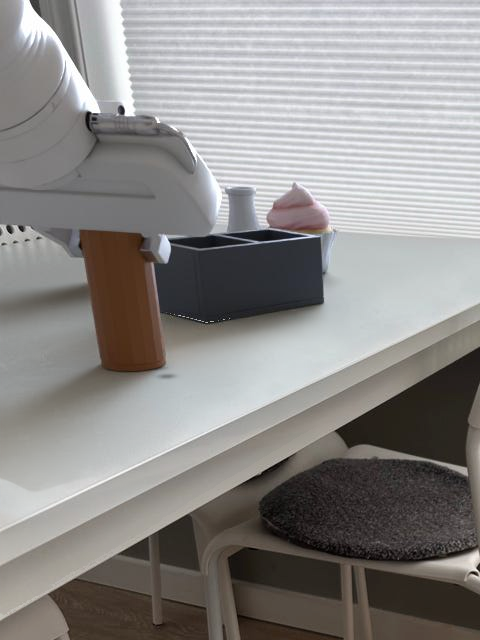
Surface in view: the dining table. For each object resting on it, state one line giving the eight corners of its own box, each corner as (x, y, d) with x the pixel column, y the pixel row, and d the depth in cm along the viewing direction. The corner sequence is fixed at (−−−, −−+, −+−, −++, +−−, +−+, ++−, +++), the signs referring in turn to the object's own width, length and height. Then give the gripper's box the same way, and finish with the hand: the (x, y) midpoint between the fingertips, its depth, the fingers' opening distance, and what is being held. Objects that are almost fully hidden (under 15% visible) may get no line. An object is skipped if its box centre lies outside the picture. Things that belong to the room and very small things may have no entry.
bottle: (89, 363, 77) (54, 157, 70) (142, 353, 81) (114, 156, 73) (125, 375, 75) (92, 162, 67) (178, 364, 78) (153, 160, 71)
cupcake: (288, 262, 123) (283, 177, 118) (352, 269, 120) (349, 181, 115) (248, 273, 115) (240, 182, 110) (315, 280, 112) (310, 187, 107)
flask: (292, 281, 111) (286, 187, 106) (255, 291, 106) (247, 192, 101) (242, 275, 114) (234, 183, 109) (203, 284, 108) (192, 187, 103)
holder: (155, 310, 95) (146, 240, 92) (274, 291, 106) (269, 227, 102) (206, 323, 91) (198, 250, 88) (324, 302, 102) (321, 236, 98)
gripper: (187, 78, 60) (256, 226, 73) (-105, 67, 63) (13, 211, 76) (164, 161, 59) (240, 297, 72) (-134, 146, 61) (-8, 279, 74)
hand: (121, 253), depth 74 cm, fingers closed on bottle, 5 cm apart
